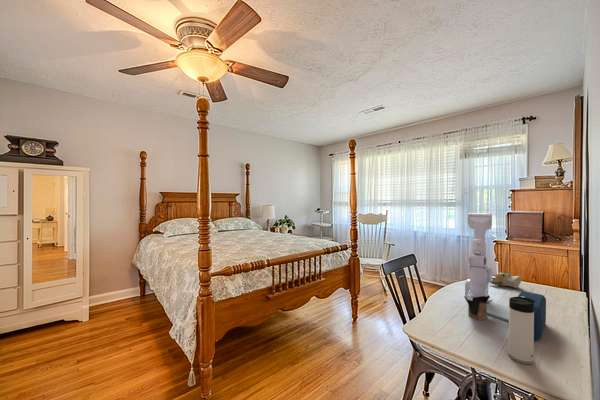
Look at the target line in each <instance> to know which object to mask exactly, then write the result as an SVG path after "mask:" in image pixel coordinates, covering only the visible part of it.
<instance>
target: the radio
mask: <svg viewBox="0 0 600 400" xmlns="http://www.w3.org/2000/svg"><path fill="white" fill-rule="evenodd" d="M517 297H525V298H531V299H533V300H535V302H534V341H535V340H536V341H539V340H540V339H541V338H542V336H543V332H544V329H545V327H546V323H547V321H546V319H547V298H546V297H545V295H543V294H540V293H536V292H532V291H531V292H530V291H525V290H522V291H521V292H519V294H518V295H517Z"/></svg>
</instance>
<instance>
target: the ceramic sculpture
mask: <svg viewBox="0 0 600 400" xmlns="http://www.w3.org/2000/svg"><path fill="white" fill-rule="evenodd" d="M522 277H523V276H522V275H512V274H511V272H508V271H504V272H497V273H496V275H495V277H492V282H491V283H490V284H492V285H495V286H502V287H512V288H514V289H518V288H519V286H520V284H521V283H522Z"/></svg>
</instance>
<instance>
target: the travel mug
mask: <svg viewBox="0 0 600 400" xmlns="http://www.w3.org/2000/svg"><path fill="white" fill-rule="evenodd" d="M508 299H509V300H508V301H509V303H508V305H509V306H508V307H509V322H508V356H509V358H510V359H511V360H513V361H514V362H515V363H519V364H520V365H521V364H522V365H533V364H534V356H535V355H534V352H535V351H534V346H535V342H534V341H535V339H534V302H535V300H533V299H531V298H525V297H518V296H512V297H509V298H508Z"/></svg>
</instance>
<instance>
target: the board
mask: <svg viewBox="0 0 600 400" xmlns="http://www.w3.org/2000/svg"><path fill="white" fill-rule="evenodd" d="M487 316H490V317H493V318H496V319H499V320H502V321H504V322H508V323H509V306H506V305H503V304H500V303H497V302H494V301H492V302H491V301H490V302H488V303H487Z"/></svg>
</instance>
